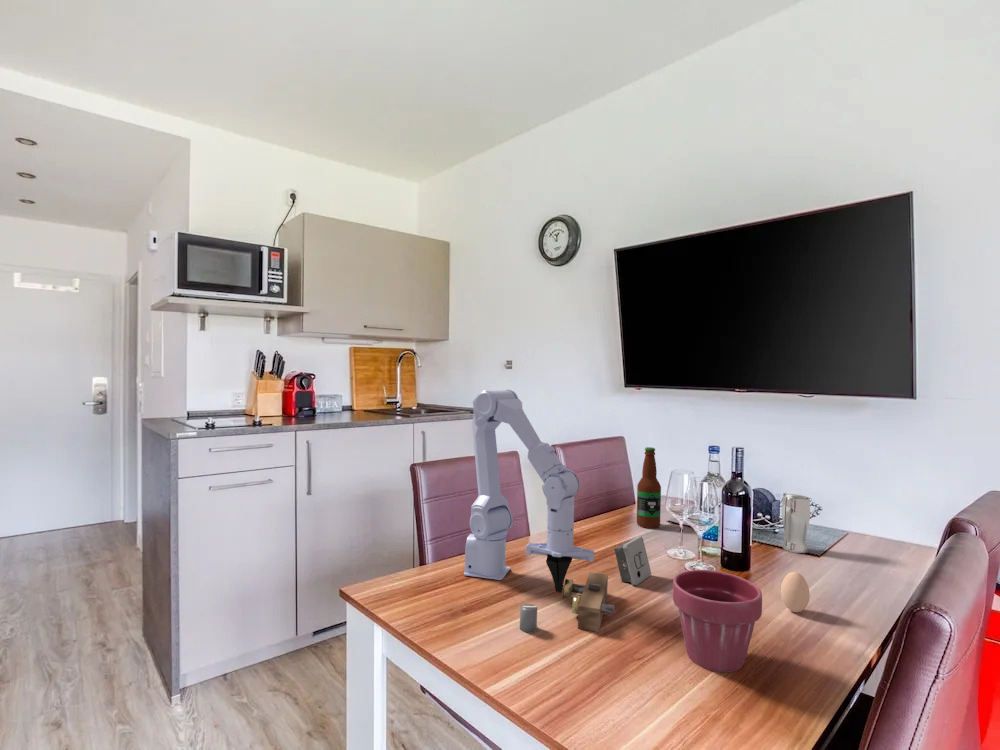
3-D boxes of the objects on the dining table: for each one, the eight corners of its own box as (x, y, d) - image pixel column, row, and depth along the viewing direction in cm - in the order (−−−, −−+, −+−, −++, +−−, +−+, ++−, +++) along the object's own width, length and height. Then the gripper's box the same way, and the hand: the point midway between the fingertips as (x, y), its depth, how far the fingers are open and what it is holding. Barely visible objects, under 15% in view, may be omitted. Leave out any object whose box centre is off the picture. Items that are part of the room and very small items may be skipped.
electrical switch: (635, 587, 122) (632, 546, 122) (614, 583, 125) (612, 543, 125) (651, 575, 129) (649, 537, 130) (632, 572, 132) (629, 534, 133)
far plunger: (563, 597, 114) (564, 582, 114) (566, 591, 117) (566, 576, 117) (601, 603, 111) (602, 587, 111) (603, 596, 115) (603, 581, 115)
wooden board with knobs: (577, 628, 102) (578, 600, 102) (589, 591, 119) (589, 567, 119) (599, 631, 100) (599, 603, 100) (607, 593, 118) (607, 569, 118)
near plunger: (572, 616, 105) (572, 599, 105) (574, 609, 108) (574, 592, 108) (613, 622, 103) (613, 605, 103) (614, 615, 106) (615, 598, 106)
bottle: (637, 528, 168) (639, 449, 168) (635, 521, 175) (637, 445, 175) (661, 529, 167) (663, 450, 167) (658, 523, 174) (660, 446, 174)
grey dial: (520, 632, 100) (521, 610, 99) (518, 624, 103) (519, 602, 103) (537, 632, 100) (538, 610, 100) (535, 624, 103) (535, 602, 103)
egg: (815, 616, 109) (816, 576, 109) (792, 618, 108) (793, 577, 108) (796, 605, 114) (797, 566, 114) (774, 606, 113) (775, 567, 113)
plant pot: (714, 690, 83) (716, 608, 83) (654, 646, 96) (656, 575, 95) (779, 671, 88) (781, 594, 88) (714, 632, 101) (716, 565, 101)
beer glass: (809, 548, 151) (811, 496, 151) (808, 555, 146) (809, 501, 145) (782, 544, 155) (783, 492, 155) (779, 550, 149) (781, 497, 149)
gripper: (523, 529, 114) (522, 592, 114) (591, 536, 110) (590, 602, 110) (530, 520, 121) (529, 580, 121) (595, 527, 116) (594, 589, 117)
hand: (559, 590), depth 116 cm, fingers closed
